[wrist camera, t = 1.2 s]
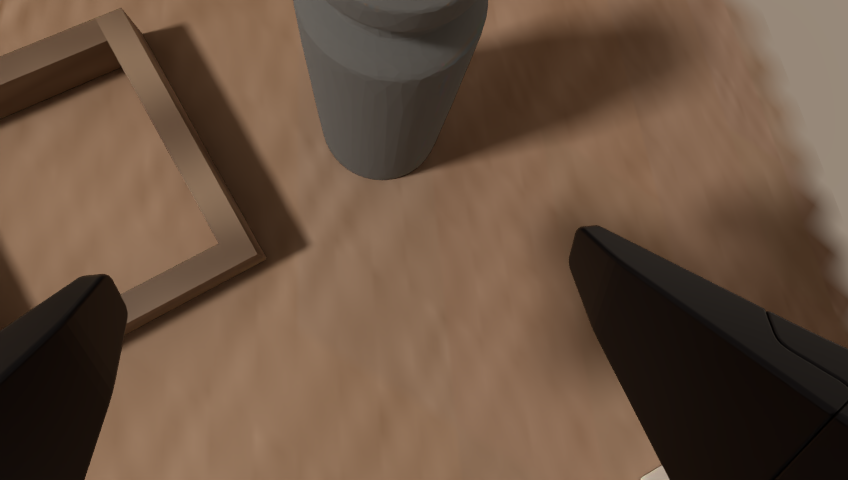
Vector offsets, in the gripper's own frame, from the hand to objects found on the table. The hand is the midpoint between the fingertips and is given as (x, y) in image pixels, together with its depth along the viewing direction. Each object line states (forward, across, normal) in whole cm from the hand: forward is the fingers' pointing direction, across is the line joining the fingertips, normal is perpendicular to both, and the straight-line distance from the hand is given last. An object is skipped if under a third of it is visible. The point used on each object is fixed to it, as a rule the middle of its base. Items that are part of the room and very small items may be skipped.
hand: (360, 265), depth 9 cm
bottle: (+16, -2, +4) cm, 16 cm away
